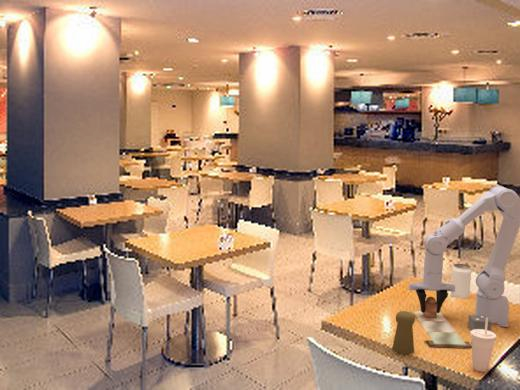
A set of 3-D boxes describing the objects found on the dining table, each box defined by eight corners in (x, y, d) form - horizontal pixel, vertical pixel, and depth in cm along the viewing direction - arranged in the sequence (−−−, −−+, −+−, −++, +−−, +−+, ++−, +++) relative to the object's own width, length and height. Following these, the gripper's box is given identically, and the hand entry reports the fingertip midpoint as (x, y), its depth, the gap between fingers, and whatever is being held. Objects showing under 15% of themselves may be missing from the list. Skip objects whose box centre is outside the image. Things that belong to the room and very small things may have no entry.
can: (471, 300, 199) (474, 268, 197) (453, 300, 199) (456, 268, 197) (465, 294, 205) (467, 263, 204) (447, 294, 206) (450, 263, 204)
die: (483, 331, 171) (485, 315, 170) (490, 337, 166) (491, 321, 166) (467, 330, 171) (468, 314, 171) (473, 336, 166) (474, 320, 166)
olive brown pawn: (415, 355, 152) (417, 317, 151) (392, 353, 154) (394, 315, 152) (413, 346, 158) (415, 309, 157) (391, 344, 159) (394, 307, 158)
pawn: (434, 313, 182) (435, 294, 181) (438, 318, 178) (439, 299, 177) (421, 313, 182) (422, 294, 181) (424, 318, 178) (426, 298, 177)
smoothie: (491, 376, 141) (495, 324, 139) (465, 369, 144) (469, 318, 142) (495, 367, 146) (500, 316, 144) (470, 360, 150) (474, 311, 148)
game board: (444, 314, 184) (444, 311, 184) (471, 348, 158) (472, 345, 158) (407, 313, 185) (408, 310, 185) (429, 347, 158) (429, 343, 158)
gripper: (451, 268, 181) (448, 308, 183) (407, 267, 182) (404, 306, 184) (458, 274, 175) (455, 316, 177) (412, 273, 175) (409, 314, 177)
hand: (430, 311), depth 180 cm, fingers closed on pawn, 4 cm apart
